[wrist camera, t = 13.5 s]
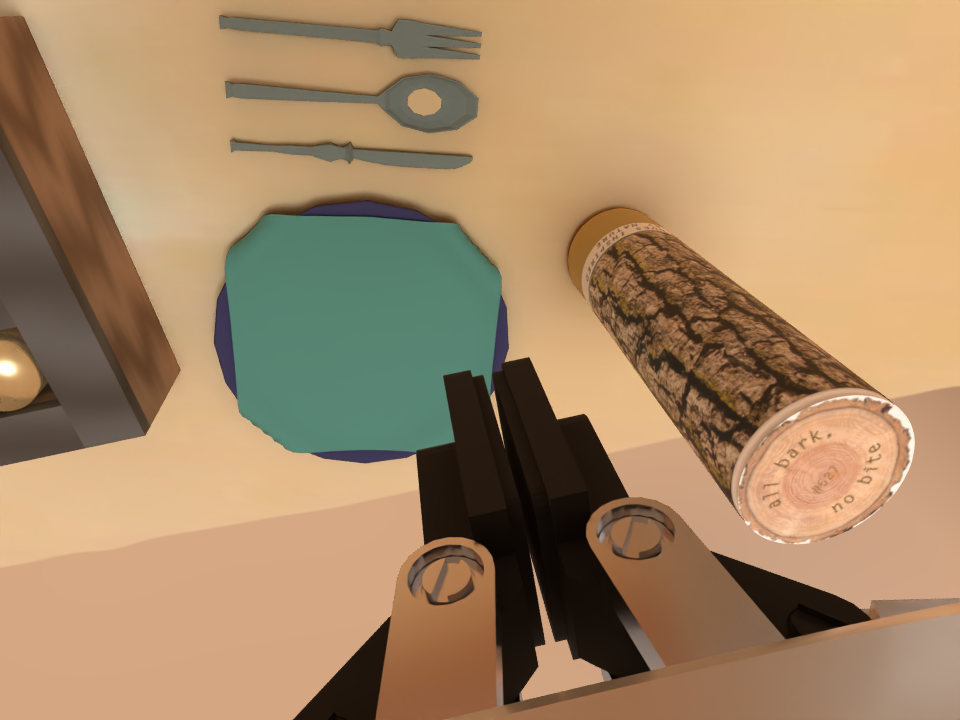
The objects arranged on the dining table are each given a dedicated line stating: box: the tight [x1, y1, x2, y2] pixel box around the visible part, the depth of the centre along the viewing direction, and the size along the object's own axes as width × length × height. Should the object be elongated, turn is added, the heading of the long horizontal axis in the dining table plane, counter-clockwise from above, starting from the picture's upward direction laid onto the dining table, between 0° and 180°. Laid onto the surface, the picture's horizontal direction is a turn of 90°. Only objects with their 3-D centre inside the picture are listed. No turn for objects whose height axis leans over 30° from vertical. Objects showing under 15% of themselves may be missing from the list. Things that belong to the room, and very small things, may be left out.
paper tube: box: [568, 208, 915, 544], centre depth 35 cm, size 7×7×25 cm
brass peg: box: [0, 327, 48, 411], centre depth 39 cm, size 4×4×7 cm
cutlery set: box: [214, 15, 509, 463], centre depth 44 cm, size 20×30×2 cm, turn 175°
